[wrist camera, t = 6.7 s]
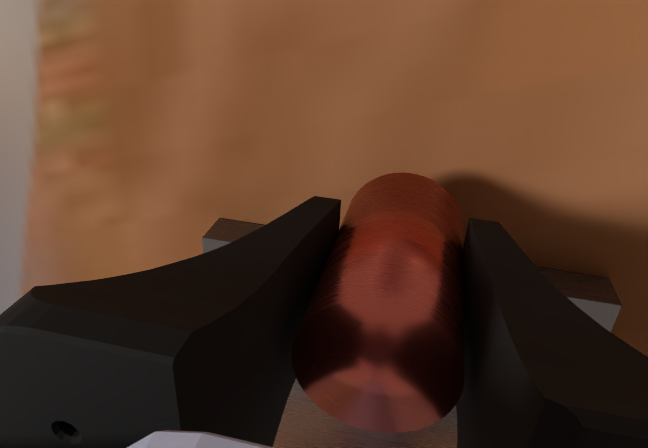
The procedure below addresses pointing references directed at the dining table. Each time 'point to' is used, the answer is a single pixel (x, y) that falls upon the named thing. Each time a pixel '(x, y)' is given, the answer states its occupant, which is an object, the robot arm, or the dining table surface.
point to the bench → (579, 288)
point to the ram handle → (383, 326)
